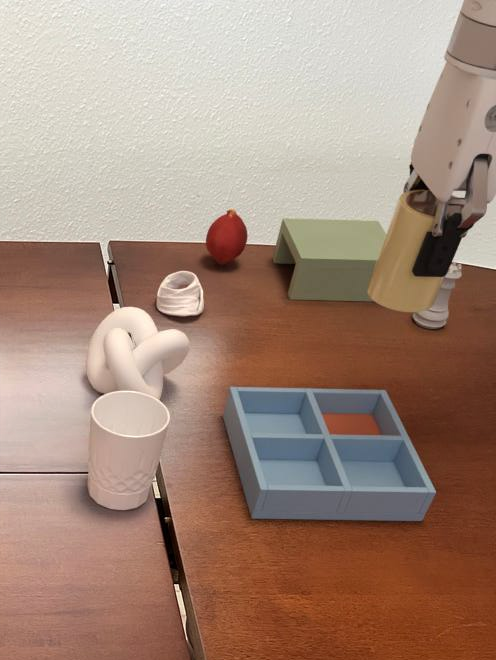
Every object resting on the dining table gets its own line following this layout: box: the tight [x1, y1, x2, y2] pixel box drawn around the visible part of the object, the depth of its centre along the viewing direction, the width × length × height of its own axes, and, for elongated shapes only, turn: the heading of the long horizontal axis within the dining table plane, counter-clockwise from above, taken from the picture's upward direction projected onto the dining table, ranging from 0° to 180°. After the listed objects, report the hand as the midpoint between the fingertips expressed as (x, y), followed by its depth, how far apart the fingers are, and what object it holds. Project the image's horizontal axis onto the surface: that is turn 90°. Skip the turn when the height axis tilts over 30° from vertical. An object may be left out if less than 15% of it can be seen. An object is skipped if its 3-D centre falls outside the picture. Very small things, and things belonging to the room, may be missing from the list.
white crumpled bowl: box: [156, 270, 205, 317], centre depth 120 cm, size 8×7×5 cm
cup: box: [367, 190, 461, 313], centre depth 86 cm, size 7×7×9 cm
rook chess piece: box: [412, 260, 463, 330], centre depth 119 cm, size 4×4×8 cm
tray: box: [222, 386, 437, 522], centre depth 99 cm, size 18×18×4 cm
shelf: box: [272, 217, 387, 303], centre depth 126 cm, size 14×12×6 cm
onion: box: [205, 208, 248, 266], centre depth 128 cm, size 6×6×8 cm
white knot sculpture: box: [85, 306, 190, 401], centre depth 105 cm, size 11×12×9 cm
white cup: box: [86, 391, 171, 511], centre depth 92 cm, size 8×8×10 cm
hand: (416, 255), depth 86 cm, fingers closed on cup, 6 cm apart
